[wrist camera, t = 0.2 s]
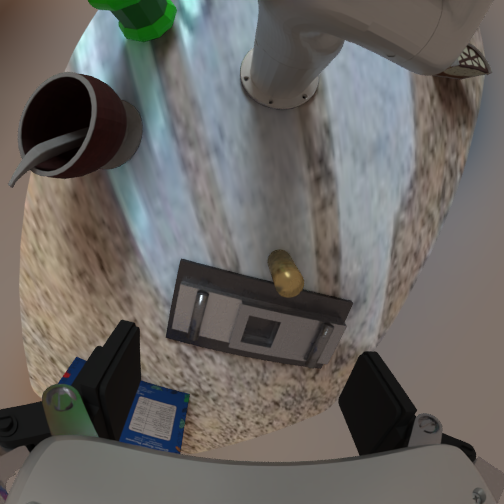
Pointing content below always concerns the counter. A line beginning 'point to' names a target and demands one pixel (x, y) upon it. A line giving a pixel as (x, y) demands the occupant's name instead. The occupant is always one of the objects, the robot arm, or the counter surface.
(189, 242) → the counter surface
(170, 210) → the counter surface
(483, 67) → the food container
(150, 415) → the pasta box
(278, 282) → the brass pin
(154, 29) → the plastic bottle
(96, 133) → the mate gourd
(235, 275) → the gray slotted panel
